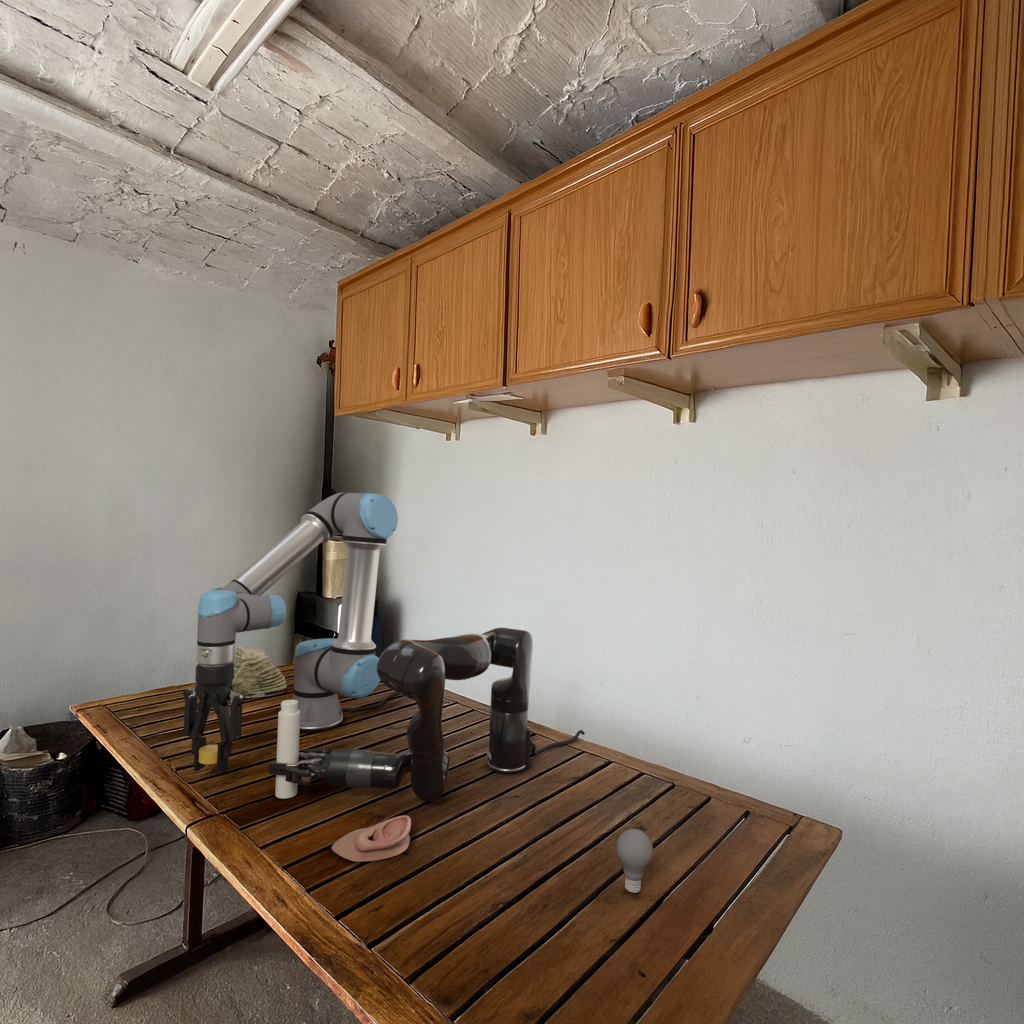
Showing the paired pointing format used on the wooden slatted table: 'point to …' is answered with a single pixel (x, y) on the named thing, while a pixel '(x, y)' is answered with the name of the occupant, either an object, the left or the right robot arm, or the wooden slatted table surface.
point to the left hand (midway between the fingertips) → (210, 770)
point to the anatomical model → (375, 841)
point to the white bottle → (287, 745)
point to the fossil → (256, 674)
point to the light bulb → (634, 857)
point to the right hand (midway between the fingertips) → (274, 763)
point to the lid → (208, 754)
